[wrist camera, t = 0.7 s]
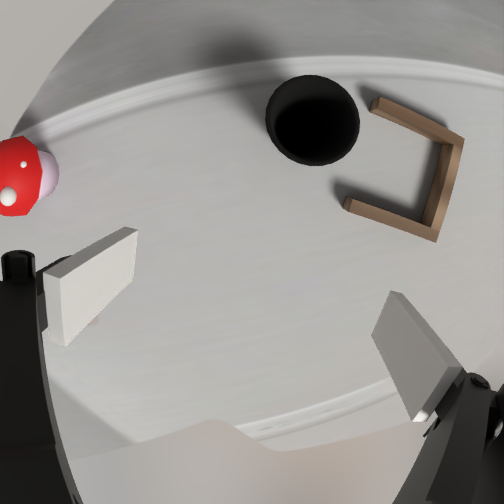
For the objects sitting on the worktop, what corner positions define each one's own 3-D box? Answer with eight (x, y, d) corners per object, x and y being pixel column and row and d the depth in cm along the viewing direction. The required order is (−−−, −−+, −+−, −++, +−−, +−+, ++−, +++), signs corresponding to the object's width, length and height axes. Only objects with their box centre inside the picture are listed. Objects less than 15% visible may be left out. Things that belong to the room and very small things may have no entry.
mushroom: (12, 171, 37) (-42, 179, 25) (49, 121, 34) (-8, 116, 23) (42, 222, 39) (-13, 242, 27) (82, 174, 36) (25, 182, 25)
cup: (310, 92, 32) (329, 60, 21) (342, 147, 34) (376, 140, 23) (254, 121, 34) (247, 101, 22) (287, 177, 35) (296, 183, 24)
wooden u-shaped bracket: (372, 101, 32) (380, 96, 29) (452, 139, 32) (464, 138, 30) (342, 208, 36) (348, 211, 33) (425, 237, 36) (435, 242, 34)
